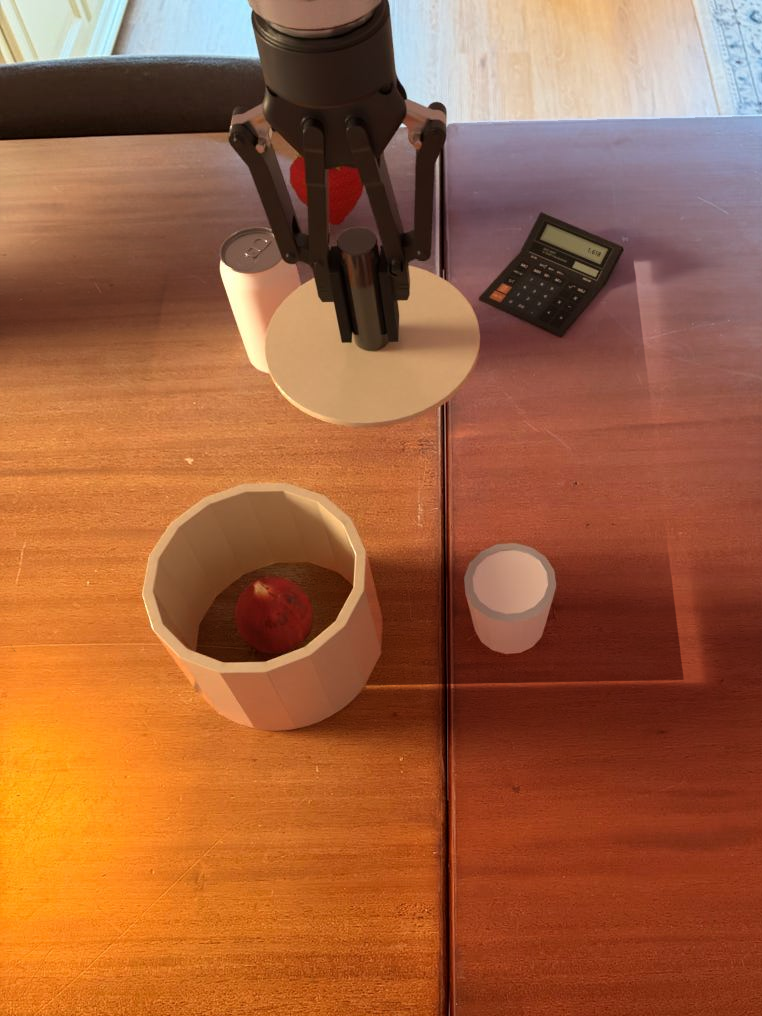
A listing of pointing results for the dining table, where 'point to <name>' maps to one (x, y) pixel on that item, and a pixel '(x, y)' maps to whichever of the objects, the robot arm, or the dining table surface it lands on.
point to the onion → (273, 615)
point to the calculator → (554, 275)
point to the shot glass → (509, 596)
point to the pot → (242, 549)
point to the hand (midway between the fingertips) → (370, 328)
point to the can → (255, 285)
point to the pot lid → (372, 345)
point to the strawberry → (331, 189)
